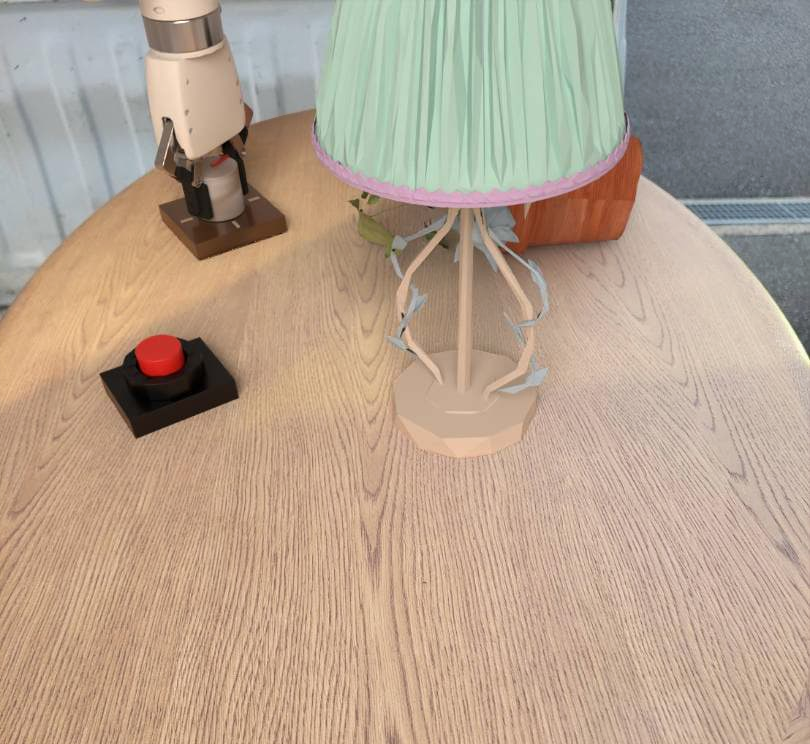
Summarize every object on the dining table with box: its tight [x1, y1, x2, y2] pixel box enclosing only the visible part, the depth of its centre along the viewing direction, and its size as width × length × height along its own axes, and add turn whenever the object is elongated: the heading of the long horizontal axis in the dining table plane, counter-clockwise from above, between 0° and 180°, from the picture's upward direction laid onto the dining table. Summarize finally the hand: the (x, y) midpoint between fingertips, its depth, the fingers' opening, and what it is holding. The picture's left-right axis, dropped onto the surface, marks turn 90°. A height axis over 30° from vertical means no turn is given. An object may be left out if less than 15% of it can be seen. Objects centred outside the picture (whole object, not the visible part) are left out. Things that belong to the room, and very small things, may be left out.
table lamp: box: [310, 0, 632, 460], centre depth 63 cm, size 22×22×40 cm
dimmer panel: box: [158, 181, 288, 261], centre depth 101 cm, size 11×11×2 cm
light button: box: [135, 334, 185, 376], centre depth 77 cm, size 4×4×2 cm
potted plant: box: [347, 135, 644, 259], centre depth 91 cm, size 16×15×35 cm
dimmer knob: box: [186, 154, 245, 222], centre depth 98 cm, size 6×6×5 cm
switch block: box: [99, 336, 240, 440], centre depth 79 cm, size 10×8×4 cm
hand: (219, 202), depth 99 cm, fingers closed on dimmer knob, 5 cm apart
